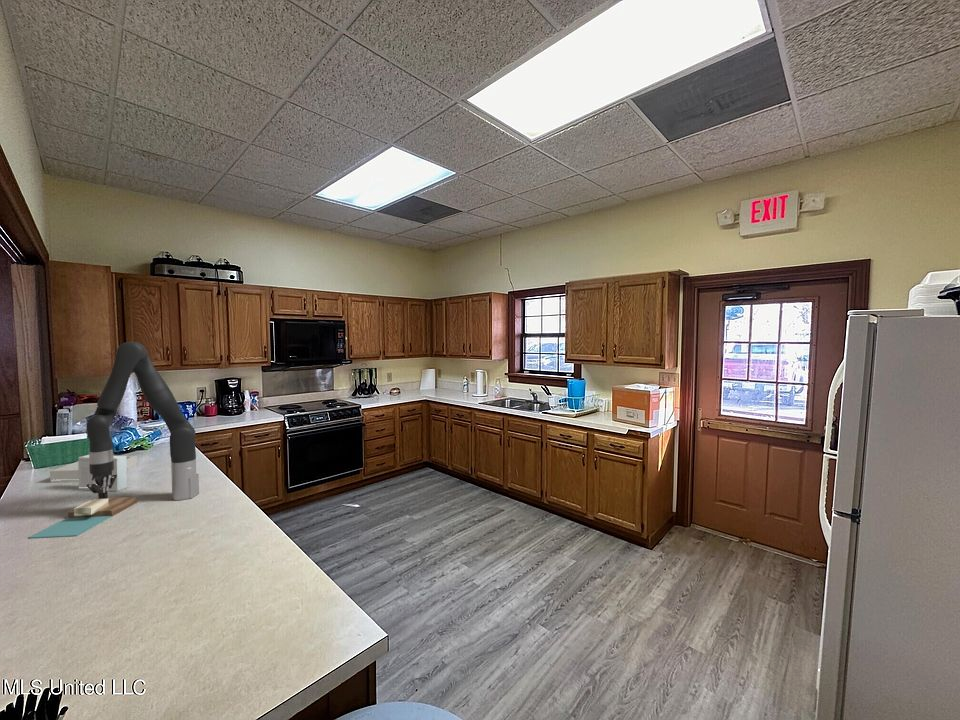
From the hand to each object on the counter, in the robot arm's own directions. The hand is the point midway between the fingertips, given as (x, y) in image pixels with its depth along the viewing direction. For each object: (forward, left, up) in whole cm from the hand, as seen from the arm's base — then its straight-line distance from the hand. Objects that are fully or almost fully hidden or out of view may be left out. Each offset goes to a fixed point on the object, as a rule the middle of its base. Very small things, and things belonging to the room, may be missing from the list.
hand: (103, 500), depth 170 cm
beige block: (0, +6, -2) cm, 6 cm away
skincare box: (+20, -27, -4) cm, 34 cm away
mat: (0, +16, -4) cm, 16 cm away
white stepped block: (+40, -50, -4) cm, 64 cm away
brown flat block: (0, 0, -4) cm, 4 cm away
